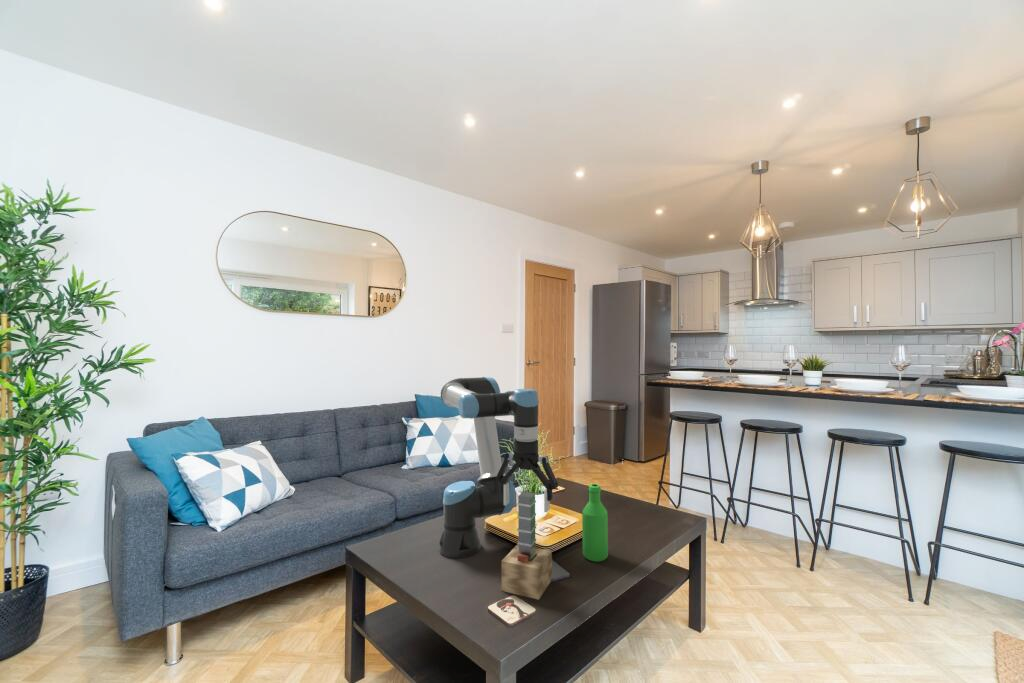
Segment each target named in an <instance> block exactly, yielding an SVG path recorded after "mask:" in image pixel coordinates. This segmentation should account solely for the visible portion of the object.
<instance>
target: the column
mask: <svg viewBox="0 0 1024 683" xmlns="http://www.w3.org/2000/svg"><path fill="white" fill-rule="evenodd" d="M517 497H518V498H517V501H518V502H517V508H518V515H517V519H518V528H517V532H518V541H517V545H519V554H523V555H528V561H532V560H533V559H534V558H535V557H536V551H535V548H536V543H537V542H536V541H537V538H536V529H537V526H536V516H537V512H536V503H537V500H536V493H534V492H527V491H523V492H521V493H520V494H519V495H518V496H517ZM519 554H518V555H519Z"/></svg>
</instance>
